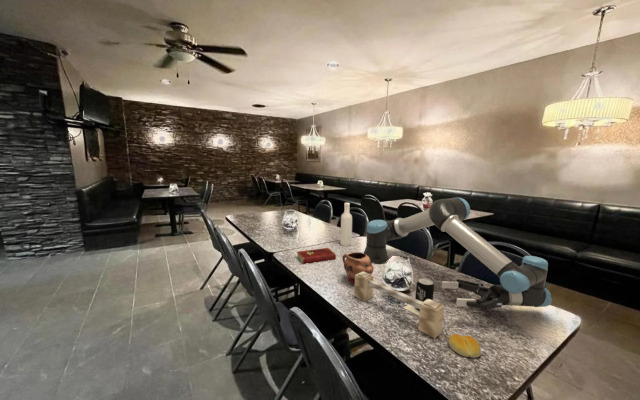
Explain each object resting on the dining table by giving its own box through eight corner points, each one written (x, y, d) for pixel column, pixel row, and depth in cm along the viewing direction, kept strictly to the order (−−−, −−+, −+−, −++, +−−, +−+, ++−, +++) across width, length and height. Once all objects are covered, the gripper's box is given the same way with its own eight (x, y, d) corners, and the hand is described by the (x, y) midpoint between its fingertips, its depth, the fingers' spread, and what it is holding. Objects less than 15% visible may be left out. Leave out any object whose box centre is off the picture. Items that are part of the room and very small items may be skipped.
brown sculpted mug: (333, 277, 131) (333, 251, 129) (348, 271, 139) (349, 246, 137) (364, 292, 117) (365, 263, 115) (379, 284, 125) (381, 257, 123)
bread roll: (445, 338, 88) (446, 327, 87) (475, 343, 86) (476, 332, 85) (451, 356, 80) (453, 344, 79) (484, 361, 78) (485, 349, 77)
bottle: (340, 242, 187) (341, 201, 182) (351, 242, 186) (352, 202, 182) (340, 246, 179) (341, 203, 174) (351, 246, 179) (353, 204, 174)
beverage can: (433, 314, 100) (436, 285, 98) (416, 312, 102) (418, 283, 100) (430, 305, 107) (432, 278, 105) (413, 303, 108) (415, 276, 106)
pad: (403, 308, 105) (403, 307, 105) (417, 299, 112) (417, 298, 112) (430, 321, 97) (430, 320, 97) (442, 310, 104) (442, 309, 104)
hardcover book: (335, 260, 155) (336, 253, 154) (302, 265, 147) (302, 258, 147) (328, 253, 166) (328, 247, 165) (296, 257, 158) (296, 251, 158)
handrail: (354, 296, 114) (355, 273, 112) (361, 292, 117) (362, 270, 115) (434, 338, 87) (437, 309, 86) (441, 332, 91) (443, 304, 89)
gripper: (526, 323, 89) (463, 320, 91) (485, 288, 114) (436, 286, 115) (529, 303, 88) (465, 301, 90) (487, 272, 113) (437, 270, 114)
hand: (448, 292), depth 102 cm, fingers open, 13 cm apart
